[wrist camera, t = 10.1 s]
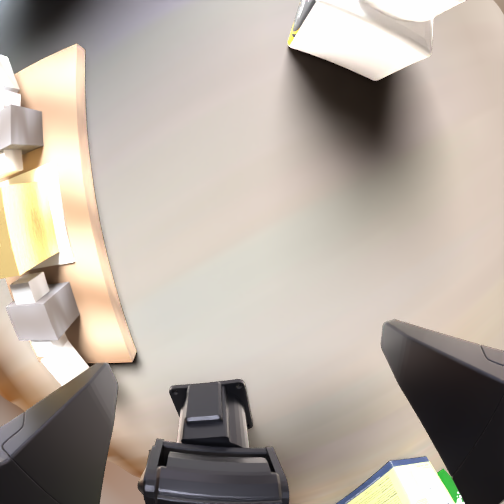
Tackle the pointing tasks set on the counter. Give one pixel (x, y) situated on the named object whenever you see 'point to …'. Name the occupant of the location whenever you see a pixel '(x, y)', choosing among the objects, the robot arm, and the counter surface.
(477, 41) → the counter surface
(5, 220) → the block
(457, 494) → the milk carton
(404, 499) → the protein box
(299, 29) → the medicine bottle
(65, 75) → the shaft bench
